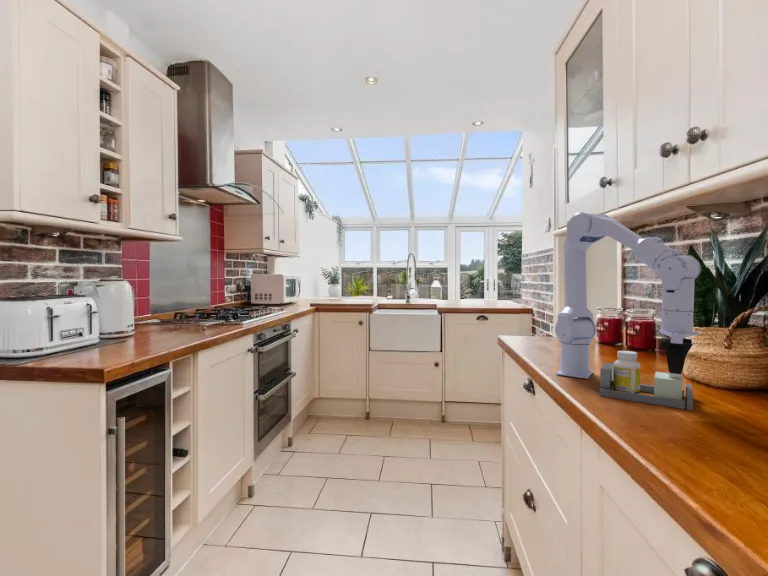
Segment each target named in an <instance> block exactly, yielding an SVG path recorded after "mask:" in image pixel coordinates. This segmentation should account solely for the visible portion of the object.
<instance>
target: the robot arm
mask: <svg viewBox="0 0 768 576" xmlns="http://www.w3.org/2000/svg"><path fill="white" fill-rule="evenodd" d="M605 237H610V238H611V239H613V240H615V241H617V242H618V243H620V244H621V245H623V246H624V247H628V248H629V249H631V250H632V251H633V252H632V253H633V257H634V258H635V259H636V260H638V261H640V262H642V263H643V264H645V265H646V266H647V267H649V268H650V269H652V270H654V271H656V274H657V276H658V278H659V279H660V281H661V287H662V288H661V290H662V291H661V292H662V293H661V313H660V314H661V315H660V316H661V318H660V319H661V321H660V322H661V323H660V329H659V333H660V334H662V335H664V336H667V337H662V338H660V344H661V346H662V348H663V350H664V353H665V356H666V363H667V368H668V373H669V372H670V373H674V374H681V373H682V374H683V370H684V366H685V363H686V362H685V361H686V358H687V355H688V354H689V351H690V350H691V348H692V347H693V343H692V339H691V338H687V337H693V336H700V331H696V330H694V309H695V308H694V307H695V306H694V305H695V280H696V279H697V278H698V277H699V276H700V274H701V271H702V267H701V263H700V261H699V260H698V259H696V258H695V257H694V255H689V254H684V255H682V254H681V250H679V249H678V248H672V247H670V246H668V245H666V244H665V243H663V239H662V238H660V237H657V236H656V237H652V236H647V237H644V238H643V237H642V236H640V235H638V234H637V233H636V232H634V231H633V230H631V229H629V228H628V227H627V226H625V225H623V224H622V223H621V222H619V221H617V219H616V218H613V217H610V216H609V215H607V214H604V213H603V214H596V213H586V212H584V211H579V212H576V213H575V214H573V215H572V216H571V217H570V218H569V219H568V221H567V222H566V235H565V239H564V242H563V267H564V268H563V273H564V276H563V277H564V278H563V279H564V280H563V281H564V308H563V309H562V310H561V311H559V313H557V321H556V324H555V328H554V331H555V336H556V337H557V339H558V341H559V343H560V364H559V365H560V369H559V370H558V371H557V372H556V373H555V374H556V375H558V376H563V377H572V378H579V379H586V380H587V379H589V378H590V377H591V375H592V374H593V373H594V370H593V369H592V370H591V369H590V361H591V360H590V359H591V358H590V356H591V354H590V353H591V351H590V345H591V343H592V339H593V338H594V337H595V336H596V335H597V324H596V323H595V320H594V314H593V313H592V312H591V310H590V309H589V308H588V307H587V306H588V303H587V301H588V300H587V260H586V259H587V256H586V255H587V252H586V251H587V250H588V249H589V248H590V247H591V246H592V245H593V244H595V243H597V242H598V241H600V240H602V239H604V238H605ZM668 337H669V338H668Z"/></svg>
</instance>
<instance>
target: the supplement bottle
mask: <svg viewBox="0 0 768 576" xmlns="http://www.w3.org/2000/svg"><path fill="white" fill-rule="evenodd" d="M616 357H617V359H616V360H615V361H614V362H613V363H614V379H613V380H614V381H613V390H616V391H623V392H630V393H636V394H641V391H640V384H641V363H639V362H638V361H637V359H638V352H637V351H631V350H618V351H617V354H616Z"/></svg>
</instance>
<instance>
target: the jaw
mask: <svg viewBox="0 0 768 576" xmlns="http://www.w3.org/2000/svg"><path fill="white" fill-rule="evenodd" d="M653 379H654V384H653V386H654V393H653V396H657V397H664V398H670V399H677V400H683V397H682V390H683V383H684V382H683V372H682V373H681V374H674V373H670V372H669V371H668V372H663V371H662V372H660V371H655V372H654V378H653Z"/></svg>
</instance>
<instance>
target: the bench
mask: <svg viewBox="0 0 768 576" xmlns="http://www.w3.org/2000/svg"><path fill="white" fill-rule="evenodd" d="M599 374H600V378H599V382H600V383H599V389H598V396H599V397H605V398H611V399H612V398H613V399H619V400H626V401H632V402H638V403H643V404H651V405H656V406H663V407H669V408H670V407H671V408H676V409H682V410H685V409H686V410H688V411H689V410H690V411H693V410H694V392H693V386H692V384H691V383H685V389H682V398H685V400H683V399H682V400H677V399H670V398H664V397H657V396H654V395H649V394H642V393H640V394H636V393H630V392H623V391H616V390H613V381H614V380H613V379H614V362H604V364H603V365H602V366H601V367H600V372H599ZM640 392H644V393H651V394H654V385H651V384H650V385H649V384H645V383H640Z"/></svg>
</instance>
